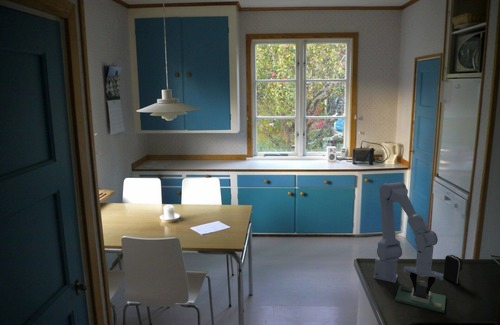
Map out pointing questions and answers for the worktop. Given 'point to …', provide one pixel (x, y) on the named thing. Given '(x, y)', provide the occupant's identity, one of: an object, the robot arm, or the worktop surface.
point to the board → (421, 299)
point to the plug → (421, 289)
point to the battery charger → (452, 268)
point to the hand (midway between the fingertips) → (421, 291)
